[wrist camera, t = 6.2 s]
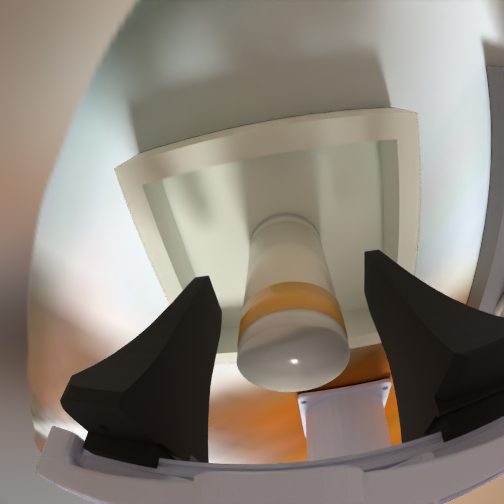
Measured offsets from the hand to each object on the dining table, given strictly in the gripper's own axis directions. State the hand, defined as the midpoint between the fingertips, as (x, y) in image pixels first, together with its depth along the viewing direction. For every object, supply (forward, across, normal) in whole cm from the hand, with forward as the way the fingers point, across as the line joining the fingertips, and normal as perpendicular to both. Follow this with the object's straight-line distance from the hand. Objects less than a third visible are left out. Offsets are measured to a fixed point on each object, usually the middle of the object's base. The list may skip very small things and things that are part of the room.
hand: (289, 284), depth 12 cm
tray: (+4, 0, 0) cm, 4 cm away
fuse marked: (+3, 0, 0) cm, 3 cm away
